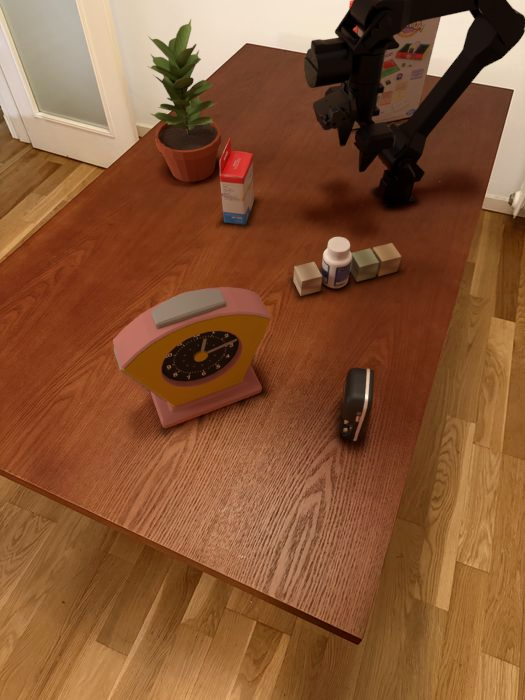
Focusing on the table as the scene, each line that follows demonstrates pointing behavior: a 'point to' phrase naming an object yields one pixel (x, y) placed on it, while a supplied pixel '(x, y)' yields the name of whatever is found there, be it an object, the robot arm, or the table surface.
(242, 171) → the ink box
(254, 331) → the toy desk clock
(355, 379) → the battery charger
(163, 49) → the potted plant
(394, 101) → the game box
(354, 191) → the table surface
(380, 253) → the block line
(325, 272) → the pill bottle
